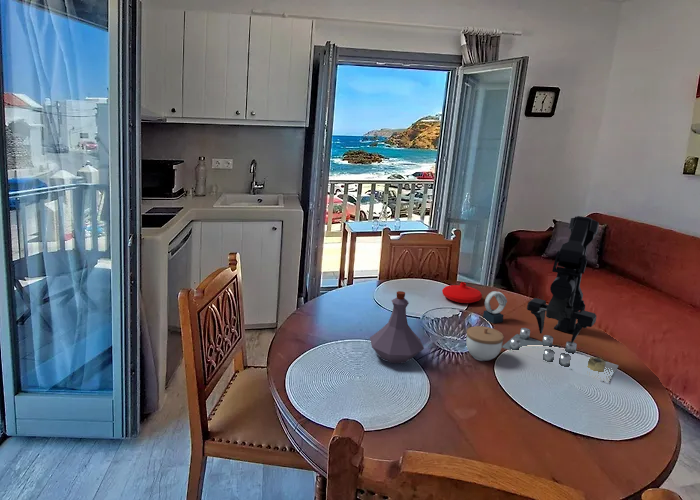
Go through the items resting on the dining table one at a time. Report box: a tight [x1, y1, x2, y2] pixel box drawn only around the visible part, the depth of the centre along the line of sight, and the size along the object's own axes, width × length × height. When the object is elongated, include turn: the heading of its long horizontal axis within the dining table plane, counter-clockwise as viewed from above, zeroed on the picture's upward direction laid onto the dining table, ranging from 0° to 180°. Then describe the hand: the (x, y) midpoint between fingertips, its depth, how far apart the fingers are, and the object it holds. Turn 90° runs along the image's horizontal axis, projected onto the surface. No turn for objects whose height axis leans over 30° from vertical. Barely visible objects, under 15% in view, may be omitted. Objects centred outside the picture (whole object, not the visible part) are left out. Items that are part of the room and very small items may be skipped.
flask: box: [369, 290, 425, 364], centre depth 142 cm, size 16×16×20 cm
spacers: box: [509, 327, 578, 367], centre depth 152 cm, size 14×18×3 cm
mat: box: [501, 333, 619, 383], centre depth 150 cm, size 14×31×1 cm, turn 52°
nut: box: [587, 356, 607, 372], centre depth 143 cm, size 5×4×3 cm
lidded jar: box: [465, 325, 505, 362], centre depth 146 cm, size 11×11×9 cm
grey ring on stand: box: [482, 290, 508, 324], centre depth 174 cm, size 6×8×11 cm
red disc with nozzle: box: [441, 281, 483, 304], centre depth 195 cm, size 16×16×7 cm
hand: (556, 337), depth 149 cm, fingers open, 9 cm apart
